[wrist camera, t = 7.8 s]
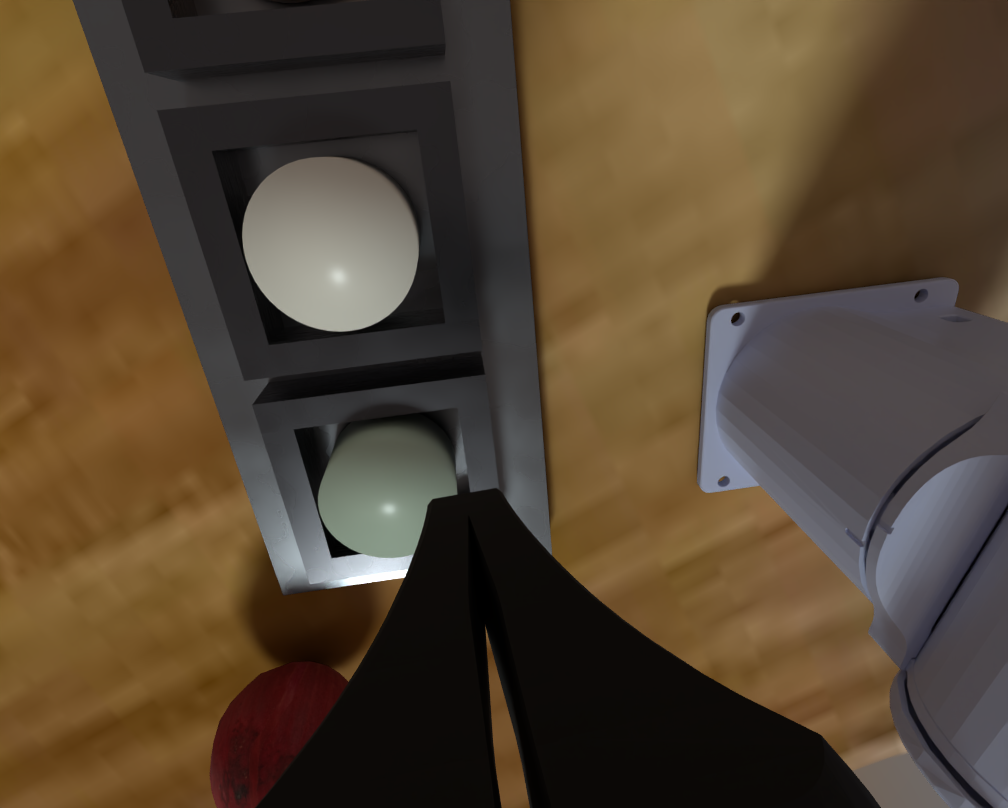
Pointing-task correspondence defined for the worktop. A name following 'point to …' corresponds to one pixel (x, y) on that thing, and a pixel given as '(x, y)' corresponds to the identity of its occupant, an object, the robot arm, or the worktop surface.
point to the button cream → (332, 242)
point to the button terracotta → (290, 1)
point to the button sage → (385, 483)
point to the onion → (269, 729)
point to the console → (420, 173)
